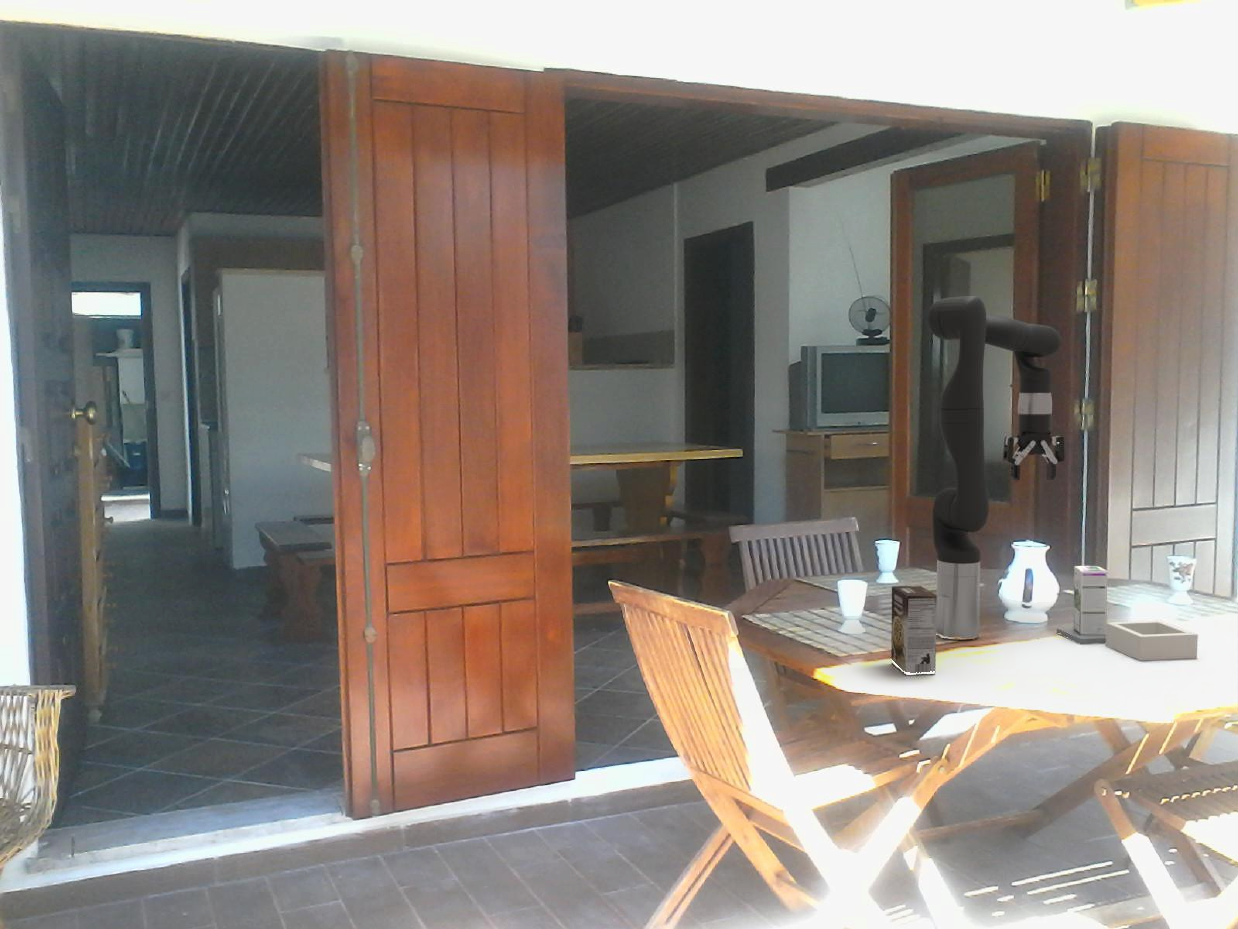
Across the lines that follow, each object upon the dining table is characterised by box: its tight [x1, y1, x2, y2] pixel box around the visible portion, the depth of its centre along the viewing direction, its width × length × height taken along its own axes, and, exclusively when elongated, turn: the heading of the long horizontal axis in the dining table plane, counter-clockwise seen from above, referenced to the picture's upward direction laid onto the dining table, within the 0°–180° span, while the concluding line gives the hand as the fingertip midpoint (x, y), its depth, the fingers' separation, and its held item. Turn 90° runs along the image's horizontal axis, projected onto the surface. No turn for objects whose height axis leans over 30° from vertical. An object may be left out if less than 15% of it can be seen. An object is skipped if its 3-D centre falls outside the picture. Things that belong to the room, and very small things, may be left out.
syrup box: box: [1073, 565, 1108, 635], centre depth 240 cm, size 6×6×14 cm
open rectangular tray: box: [1105, 620, 1199, 662], centre depth 228 cm, size 12×12×5 cm
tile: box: [1056, 626, 1106, 645], centre depth 241 cm, size 10×10×1 cm
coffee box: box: [890, 585, 937, 673], centre depth 217 cm, size 9×6×16 cm
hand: (1033, 480), depth 258 cm, fingers open, 8 cm apart
